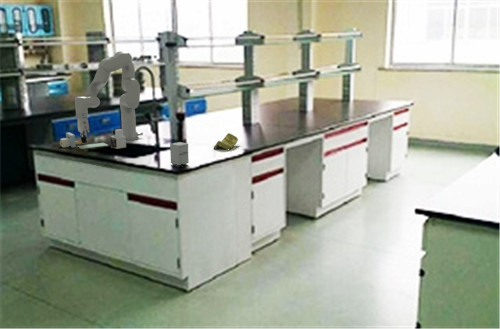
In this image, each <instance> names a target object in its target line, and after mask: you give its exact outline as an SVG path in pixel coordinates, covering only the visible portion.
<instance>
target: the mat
mask: <svg viewBox="0 0 500 329" xmlns="http://www.w3.org/2000/svg"><path fill="white" fill-rule="evenodd" d="M108 146H109V144H107V143H105V142H100V143H89V144H79V145H76V148H78V147H79V149H80V150H83V149H93V148H101V147H108Z"/></svg>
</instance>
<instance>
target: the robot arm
mask: <svg viewBox="0 0 500 329" xmlns="http://www.w3.org/2000/svg"><path fill="white" fill-rule="evenodd" d="M118 70H121V89H122V90H123V91H125V92H126V93H123V94H122V95H120V97H119V99H118V100H119V102H118V103H119V106H120V115H121V116H120V117H121V129H122V132H123V135H122V136H125V137H126V141H136V139H137V140H139V139H138V138H139V136H143V135H144V133H143V132H138V131H137V124H136V123H137V122H136V120H137V119H136V111H135V109H137V108H138V107H139V105H140V98H141V85H140V82H139V81H138V80H137V79H136V74H135V73H136V72H135V71H136V70H135V65H134V62H133V56H132V55H131V53H129V52H127V51H122V50H121V51H117V52H115V53H114V56H113V57H111V58H103V59H102V60H100V62H99V65H98V68H97V70H96V73H95V75H94V78H93V79H92V81H91V83H90V84H89V86H88V87H87V89H86V92H85V95H84V96H75V98H74V105H75V118H76V119H77V129H78V132H79V133H80V141H82V144H87V143H88V140H87V139H88V138H87V135H88V134H89V133H90V126H89V111H88V110H89V108H97V107H99V106H100V104H101V101H100V98H99V97H97V96H98V94H99V92H100V91H101V89H103V88H104V87H105V86H106V85H107V83H108V81H109V78H110V75H111V73H114V72H116V71H118Z"/></svg>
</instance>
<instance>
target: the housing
mask: <svg viewBox="0 0 500 329" xmlns="http://www.w3.org/2000/svg"><path fill="white" fill-rule="evenodd" d="M65 138H70V144H71V148H77V145H76V142H75V141H76V135H75V134H74V133H72V132H65Z"/></svg>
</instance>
